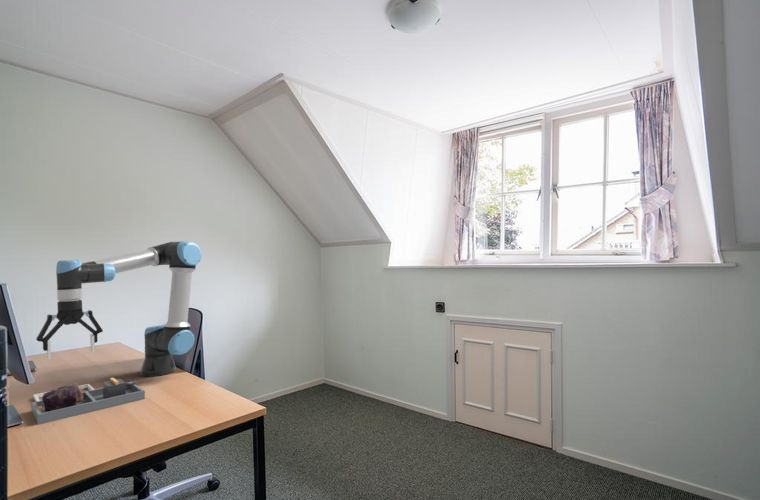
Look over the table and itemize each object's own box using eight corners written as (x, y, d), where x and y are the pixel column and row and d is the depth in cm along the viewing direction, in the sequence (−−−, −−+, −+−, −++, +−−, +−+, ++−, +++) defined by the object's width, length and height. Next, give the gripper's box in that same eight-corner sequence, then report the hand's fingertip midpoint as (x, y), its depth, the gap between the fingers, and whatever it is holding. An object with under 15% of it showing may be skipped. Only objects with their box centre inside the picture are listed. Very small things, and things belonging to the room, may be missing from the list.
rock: (46, 411, 152) (44, 419, 144) (41, 389, 151) (39, 396, 143) (84, 399, 159) (85, 406, 151) (80, 378, 158) (80, 384, 150)
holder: (132, 389, 174) (132, 371, 175) (144, 398, 163) (144, 379, 163) (31, 411, 151) (31, 390, 151) (37, 424, 139) (37, 401, 139)
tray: (88, 387, 178) (88, 383, 178) (97, 396, 166) (97, 392, 166) (33, 398, 165) (33, 394, 165) (39, 408, 153) (39, 404, 153)
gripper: (105, 295, 167) (106, 346, 167) (25, 303, 149) (27, 360, 149) (110, 297, 162) (111, 349, 162) (28, 304, 144) (30, 364, 144)
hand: (71, 355), depth 156 cm, fingers open, 13 cm apart
